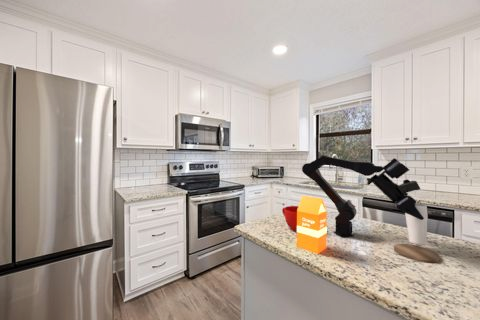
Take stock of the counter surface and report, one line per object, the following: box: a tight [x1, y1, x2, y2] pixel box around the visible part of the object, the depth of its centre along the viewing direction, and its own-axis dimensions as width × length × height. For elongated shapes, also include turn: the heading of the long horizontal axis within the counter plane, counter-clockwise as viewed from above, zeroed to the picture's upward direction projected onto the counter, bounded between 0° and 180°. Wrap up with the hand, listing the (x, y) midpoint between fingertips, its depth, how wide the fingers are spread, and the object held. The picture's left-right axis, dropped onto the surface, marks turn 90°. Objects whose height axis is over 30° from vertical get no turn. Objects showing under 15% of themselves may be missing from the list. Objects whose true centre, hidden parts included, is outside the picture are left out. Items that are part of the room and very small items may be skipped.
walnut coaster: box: [393, 243, 441, 264], centre depth 76 cm, size 13×13×1 cm
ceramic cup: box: [281, 205, 299, 232], centre depth 104 cm, size 13×17×10 cm
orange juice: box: [296, 195, 328, 255], centre depth 81 cm, size 8×9×20 cm
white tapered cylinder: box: [404, 202, 429, 246], centre depth 80 cm, size 7×7×15 cm
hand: (420, 216), depth 80 cm, fingers closed on white tapered cylinder, 7 cm apart
